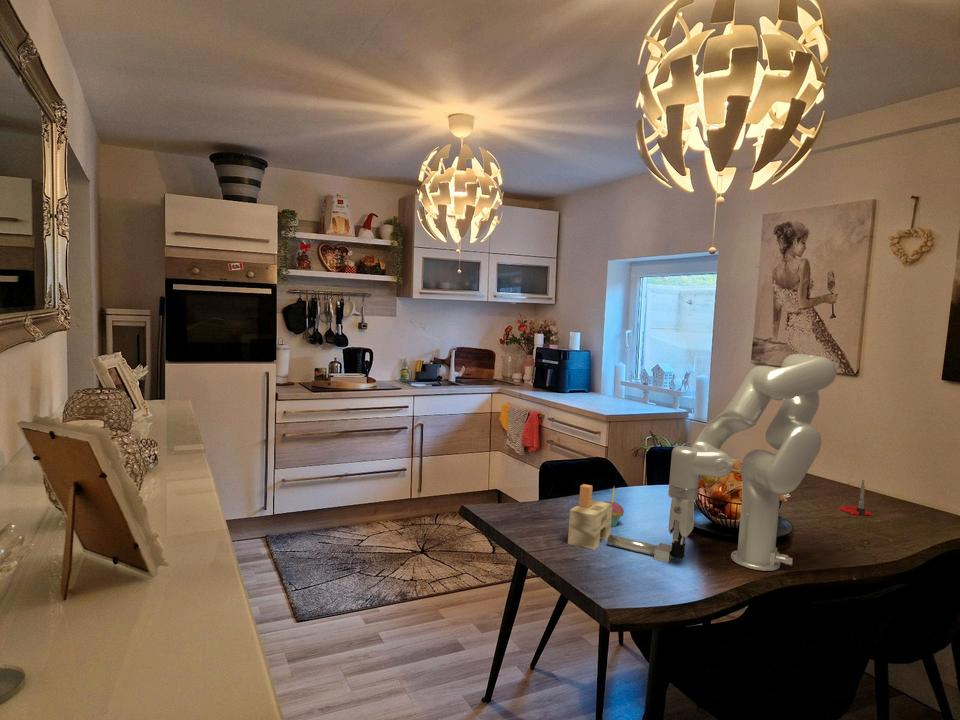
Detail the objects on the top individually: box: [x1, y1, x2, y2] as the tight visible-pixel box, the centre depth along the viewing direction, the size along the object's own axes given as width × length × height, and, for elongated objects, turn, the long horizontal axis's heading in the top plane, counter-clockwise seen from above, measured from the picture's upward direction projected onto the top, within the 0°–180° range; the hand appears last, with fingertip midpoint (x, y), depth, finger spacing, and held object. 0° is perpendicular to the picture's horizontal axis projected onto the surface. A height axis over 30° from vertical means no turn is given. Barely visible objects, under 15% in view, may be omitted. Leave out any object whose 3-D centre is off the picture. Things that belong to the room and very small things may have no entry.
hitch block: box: [567, 499, 612, 551], centre depth 186 cm, size 8×14×10 cm, turn 149°
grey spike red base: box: [839, 479, 872, 517], centre depth 230 cm, size 8×13×9 cm
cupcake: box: [604, 486, 625, 527], centre depth 202 cm, size 9×8×12 cm
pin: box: [606, 534, 674, 564], centre depth 179 cm, size 18×6×3 cm, turn 59°
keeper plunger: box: [578, 483, 594, 508], centre depth 187 cm, size 3×3×7 cm
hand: (677, 556), depth 174 cm, fingers closed
